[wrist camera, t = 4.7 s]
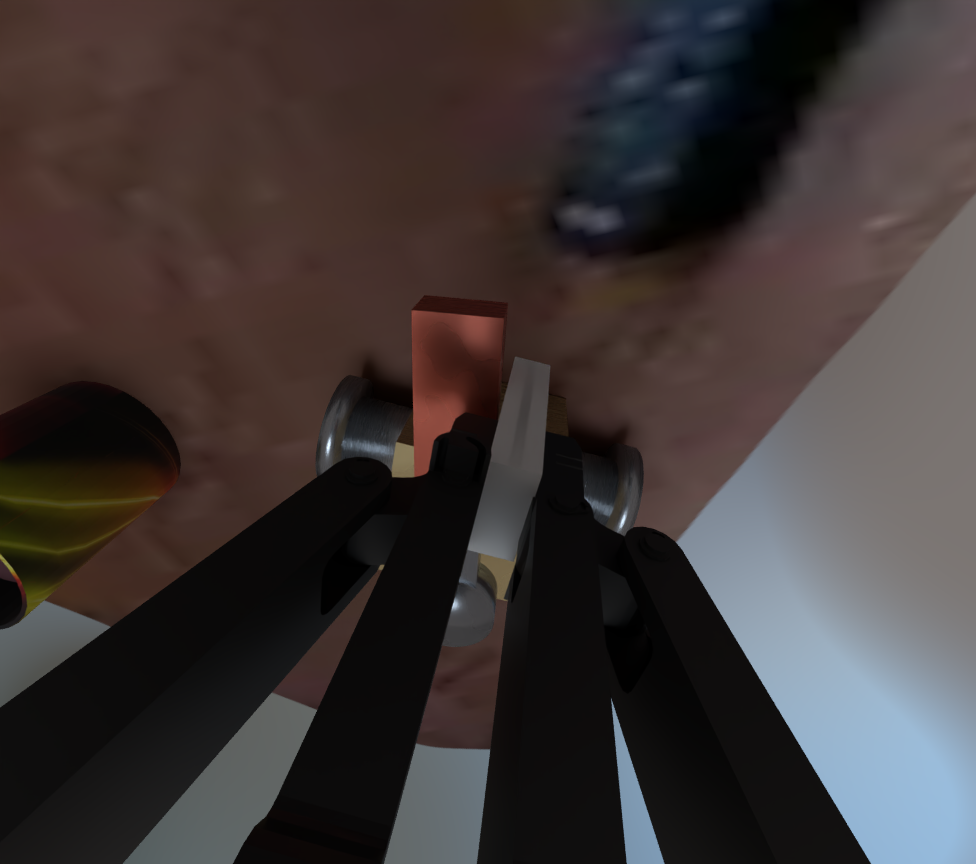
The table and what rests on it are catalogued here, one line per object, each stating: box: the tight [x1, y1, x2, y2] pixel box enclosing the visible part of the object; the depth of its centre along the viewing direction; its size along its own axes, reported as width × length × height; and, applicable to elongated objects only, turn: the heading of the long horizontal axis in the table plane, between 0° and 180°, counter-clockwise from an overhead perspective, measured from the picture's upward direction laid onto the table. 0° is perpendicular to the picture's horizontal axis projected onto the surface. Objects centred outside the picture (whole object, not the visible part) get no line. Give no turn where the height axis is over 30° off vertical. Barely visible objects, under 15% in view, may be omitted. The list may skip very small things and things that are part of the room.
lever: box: [412, 295, 508, 647], centre depth 18 cm, size 14×4×5 cm, turn 177°
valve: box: [316, 375, 644, 601], centre depth 27 cm, size 17×8×9 cm, turn 77°
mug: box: [0, 381, 181, 629], centre depth 30 cm, size 10×14×12 cm
